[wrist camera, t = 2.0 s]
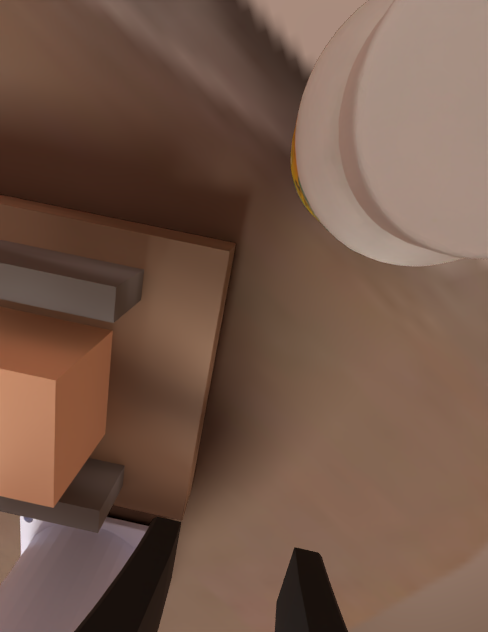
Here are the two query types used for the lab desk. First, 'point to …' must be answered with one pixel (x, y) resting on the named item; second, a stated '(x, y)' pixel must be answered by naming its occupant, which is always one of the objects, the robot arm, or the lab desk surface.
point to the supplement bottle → (400, 132)
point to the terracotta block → (49, 402)
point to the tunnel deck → (124, 345)
